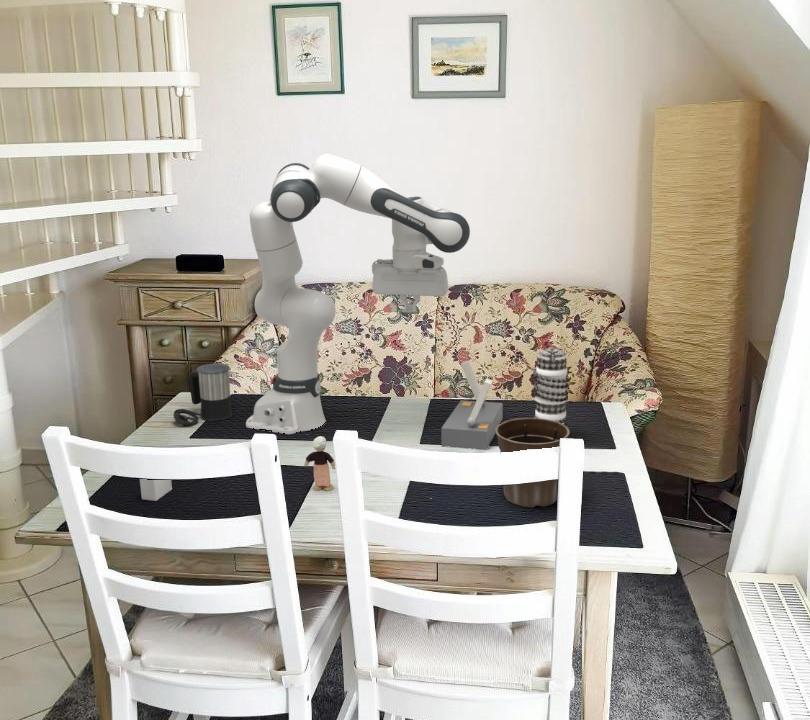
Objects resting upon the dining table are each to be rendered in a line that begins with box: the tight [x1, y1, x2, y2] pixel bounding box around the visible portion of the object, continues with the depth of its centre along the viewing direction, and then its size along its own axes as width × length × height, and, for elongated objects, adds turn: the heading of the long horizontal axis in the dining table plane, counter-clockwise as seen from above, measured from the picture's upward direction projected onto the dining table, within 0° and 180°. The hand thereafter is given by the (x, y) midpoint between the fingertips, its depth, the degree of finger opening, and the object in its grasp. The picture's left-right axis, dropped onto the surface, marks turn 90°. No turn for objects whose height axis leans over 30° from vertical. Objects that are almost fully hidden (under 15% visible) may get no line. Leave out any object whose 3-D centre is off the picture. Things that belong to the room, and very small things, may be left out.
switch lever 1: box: [460, 360, 487, 405], centre depth 244 cm, size 2×4×13 cm, turn 164°
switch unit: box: [440, 400, 504, 450], centre depth 238 cm, size 12×24×5 cm, turn 164°
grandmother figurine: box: [303, 435, 336, 491], centre depth 203 cm, size 8×4×13 cm, turn 89°
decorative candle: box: [532, 347, 571, 427], centre depth 227 cm, size 9×9×25 cm
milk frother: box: [173, 363, 233, 426], centre depth 252 cm, size 14×16×15 cm
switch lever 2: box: [467, 378, 493, 426], centre depth 227 cm, size 2×4×13 cm, turn 164°
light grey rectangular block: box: [139, 478, 173, 502], centre depth 202 cm, size 4×7×10 cm, turn 162°
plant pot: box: [495, 417, 570, 508], centre depth 195 cm, size 16×16×16 cm
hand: (410, 311), depth 234 cm, fingers closed
